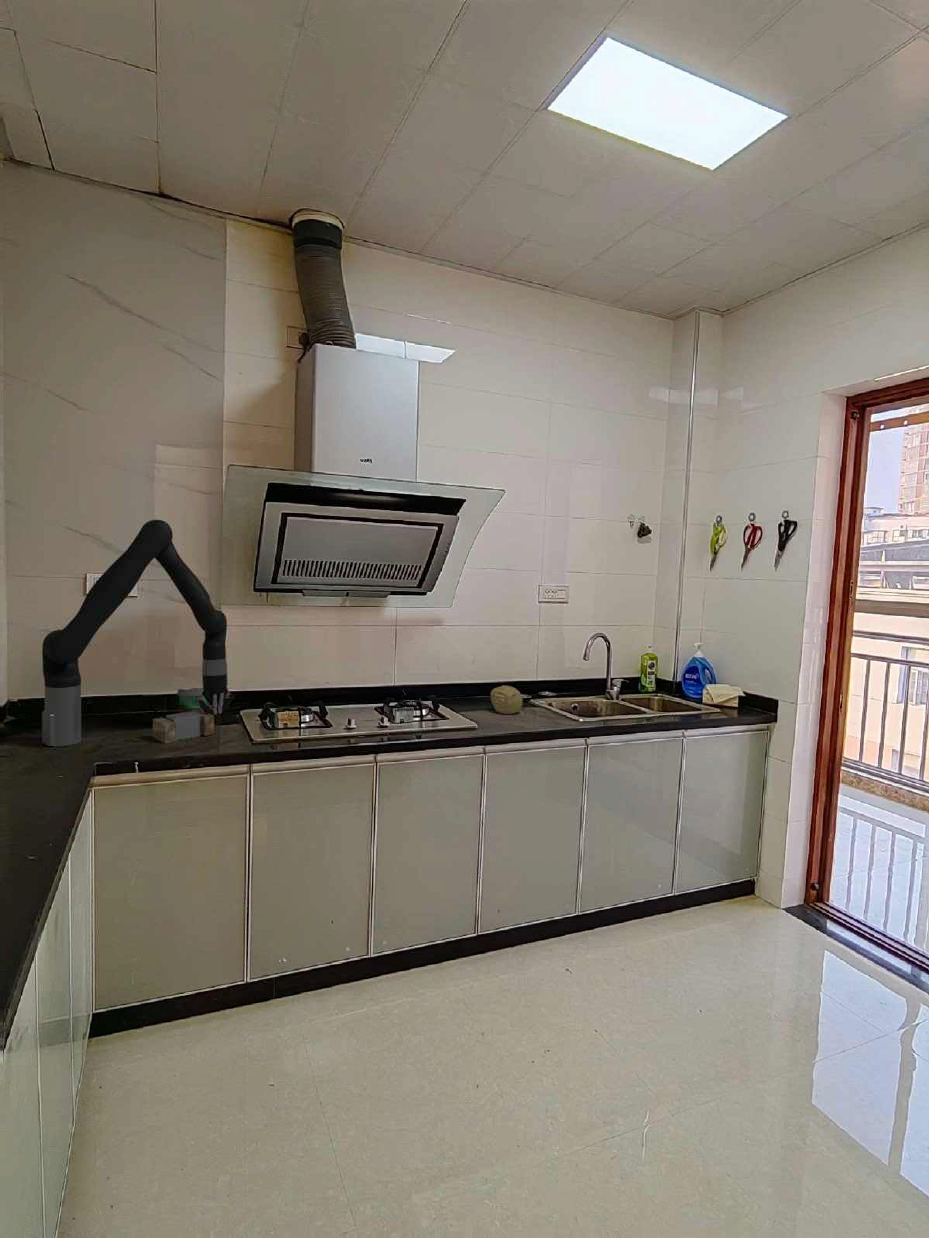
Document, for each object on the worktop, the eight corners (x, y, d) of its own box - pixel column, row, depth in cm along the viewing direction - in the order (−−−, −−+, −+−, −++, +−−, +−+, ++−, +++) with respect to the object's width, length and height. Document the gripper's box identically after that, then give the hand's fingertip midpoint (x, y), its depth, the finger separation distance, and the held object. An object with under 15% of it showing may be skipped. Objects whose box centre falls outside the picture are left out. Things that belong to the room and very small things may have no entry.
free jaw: (203, 735, 219) (204, 717, 218) (190, 730, 224) (191, 712, 223) (213, 734, 221) (214, 715, 221) (200, 729, 227) (201, 711, 226)
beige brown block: (165, 743, 209) (165, 724, 209) (152, 738, 215) (152, 719, 214) (176, 741, 212) (176, 722, 211) (163, 736, 217) (163, 717, 217)
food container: (186, 720, 238) (186, 691, 237) (176, 717, 242) (176, 688, 241) (218, 714, 248) (218, 687, 247) (208, 711, 252) (208, 684, 251)
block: (173, 740, 213) (174, 718, 212) (165, 737, 216) (166, 715, 216) (201, 735, 220) (201, 714, 219) (193, 732, 223) (193, 711, 222)
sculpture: (485, 711, 274) (486, 684, 273) (506, 708, 282) (508, 681, 281) (506, 717, 266) (507, 689, 265) (527, 713, 274) (529, 686, 273)
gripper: (227, 668, 232) (228, 719, 234) (189, 673, 222) (191, 726, 224) (239, 671, 227) (240, 723, 229) (201, 676, 217) (203, 731, 219)
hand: (216, 724), depth 226 cm, fingers closed
